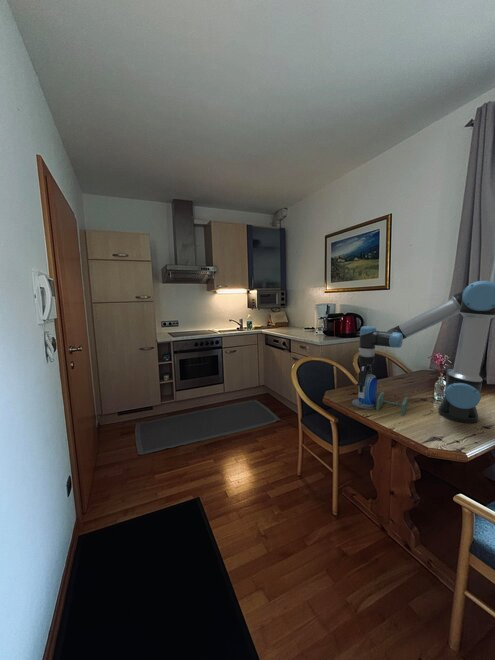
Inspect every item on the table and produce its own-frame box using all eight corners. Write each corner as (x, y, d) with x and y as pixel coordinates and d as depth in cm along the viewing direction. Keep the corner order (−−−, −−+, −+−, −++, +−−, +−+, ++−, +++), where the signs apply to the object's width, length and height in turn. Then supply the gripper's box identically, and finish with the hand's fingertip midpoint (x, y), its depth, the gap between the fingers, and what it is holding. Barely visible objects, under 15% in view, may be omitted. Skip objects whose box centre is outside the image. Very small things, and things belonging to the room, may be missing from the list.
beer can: (373, 408, 134) (375, 379, 132) (356, 404, 139) (358, 375, 137) (377, 403, 140) (379, 375, 138) (360, 399, 146) (362, 372, 143)
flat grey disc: (378, 403, 142) (378, 402, 142) (373, 411, 132) (373, 410, 132) (355, 398, 149) (355, 397, 149) (349, 405, 140) (349, 404, 140)
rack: (407, 407, 137) (408, 396, 136) (403, 416, 127) (404, 404, 126) (381, 401, 144) (382, 391, 143) (376, 409, 134) (376, 398, 133)
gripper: (365, 350, 149) (363, 385, 152) (352, 359, 129) (350, 399, 132) (379, 352, 144) (377, 388, 147) (368, 361, 125) (366, 403, 128)
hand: (364, 393), depth 140 cm, fingers open, 13 cm apart
